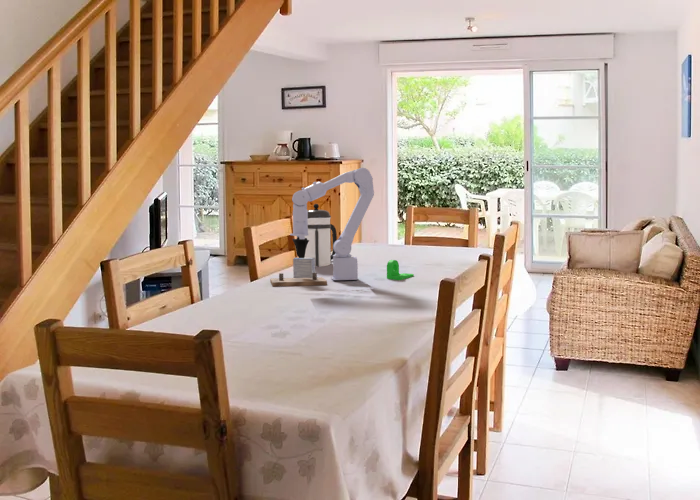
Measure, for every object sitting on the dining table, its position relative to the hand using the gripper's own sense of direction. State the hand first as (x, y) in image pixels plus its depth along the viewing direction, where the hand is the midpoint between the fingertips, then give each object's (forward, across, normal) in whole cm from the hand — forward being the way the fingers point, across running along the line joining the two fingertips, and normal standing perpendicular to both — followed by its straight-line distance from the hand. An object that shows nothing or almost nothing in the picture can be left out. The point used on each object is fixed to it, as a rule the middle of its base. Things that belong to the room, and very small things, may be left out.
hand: (300, 257), depth 298 cm
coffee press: (+10, -39, +11) cm, 41 cm away
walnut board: (+9, +8, -2) cm, 12 cm away
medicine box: (+10, -8, +2) cm, 13 cm away
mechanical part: (+10, 0, +40) cm, 41 cm away
